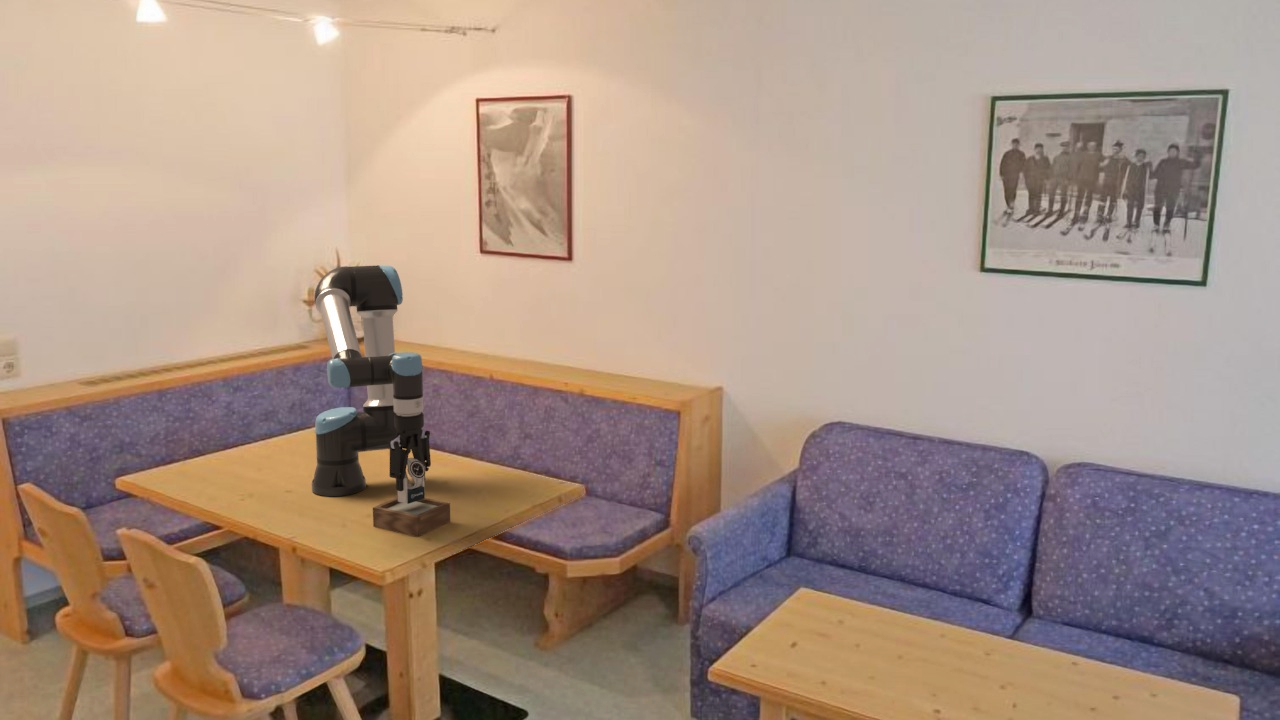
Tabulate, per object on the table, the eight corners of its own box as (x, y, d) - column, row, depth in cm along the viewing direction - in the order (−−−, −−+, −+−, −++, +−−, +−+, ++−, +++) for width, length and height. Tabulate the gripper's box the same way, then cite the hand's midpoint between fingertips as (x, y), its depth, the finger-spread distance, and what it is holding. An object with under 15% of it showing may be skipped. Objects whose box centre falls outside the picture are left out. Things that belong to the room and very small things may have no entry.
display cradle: (373, 526, 262) (372, 507, 261) (406, 511, 273) (406, 493, 272) (417, 536, 255) (417, 517, 254) (450, 521, 266) (449, 502, 265)
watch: (413, 505, 258) (412, 464, 256) (393, 498, 263) (391, 458, 261) (429, 499, 262) (428, 459, 260) (409, 493, 267) (408, 454, 265)
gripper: (394, 422, 248) (397, 511, 252) (443, 407, 265) (445, 490, 269) (371, 418, 252) (375, 506, 256) (421, 404, 268) (424, 486, 272)
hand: (411, 498), depth 262 cm, fingers closed on watch, 6 cm apart
